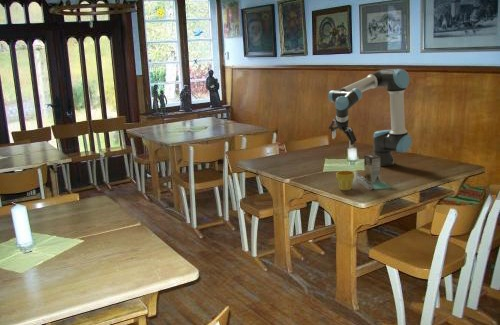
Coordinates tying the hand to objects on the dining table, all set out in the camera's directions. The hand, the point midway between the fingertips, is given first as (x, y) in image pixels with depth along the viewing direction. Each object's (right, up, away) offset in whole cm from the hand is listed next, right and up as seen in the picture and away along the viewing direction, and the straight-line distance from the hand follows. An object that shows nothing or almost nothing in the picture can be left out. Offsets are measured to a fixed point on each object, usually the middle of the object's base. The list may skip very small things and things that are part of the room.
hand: (342, 142), depth 320 cm
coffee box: (+16, -24, -13) cm, 32 cm away
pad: (+17, -27, -24) cm, 40 cm away
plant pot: (-3, -28, -25) cm, 38 cm away
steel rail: (+10, -26, -20) cm, 34 cm away
